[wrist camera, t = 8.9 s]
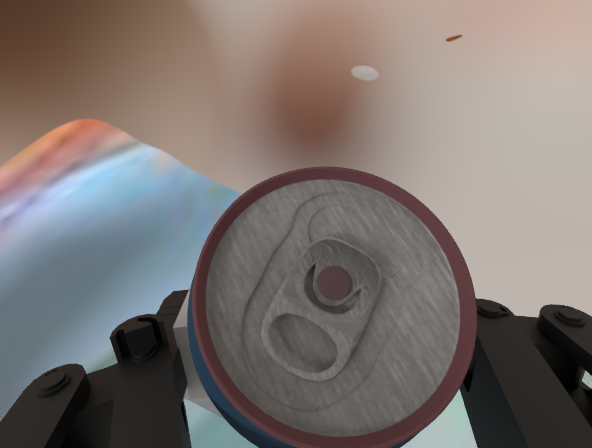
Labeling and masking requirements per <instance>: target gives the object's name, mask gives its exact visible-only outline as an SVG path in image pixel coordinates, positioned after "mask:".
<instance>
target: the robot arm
mask: <svg viewBox="0 0 592 448" xmlns="http://www.w3.org/2000/svg"><path fill="white" fill-rule="evenodd" d="M191 285H192V284H191ZM190 289H191V287H190ZM190 289H189V290H181V291H173V292H172V293H171V294H170V295H169V296H168V297H166V298H165V299H164V301H163V303H162V304H161V306H160V310H158V312H157V314H156V315H155V314H145V315H140V316H136V317H134V318H131V319H129V320H127V321H125V322H123V323H122V324H120V325H119V326H118V327H117V328H116V329H115V330H114V331H113V332H112V334H111V336H110V340H111V343H112V346H113V349H114V352H115V355H116V358H117V361H118V363H117V364H115V365H112V366H110V367H107V368H104V369H101V370H98V371H95V372H92V373H89V374H86V372H85V370H84V368H83V366H81V365H79V364H66V365H63V366H60V367H56V368H54V369H52V370H50V371H48V372H46V373H44V374H42V375H41V376H40V377H38V378H37V379H35V380H34V381H33V382H32V383H31V384H30V385H29V386H28V387H27V388H26V389H25V390H24V391H23V393H22V394H21V395H20V397H19V398H18V399H17V401H16V402H15V403H14V405H13V406H12V407H11V409H10V410H9V411H8V413H7V414H6V415H5V417H4V418H3V419H2V421H1V422H0V448H191V442H190V435H189V428H188V422H187V415H186V409H185V405H184V401H183V399H184V395H185V392H186V388H187V389H188V393H189V397H190V399H196V398H203V397H209V396H208V395H207V393H206V391H205V389H204V387H203V385H202V383H201V381H200V379H199V376H198V374H197V371H196V369H195V365H194V362H193V359H192V355H191V351H190V346H189V339H188V329H187V310H188V300H189V294H190ZM476 307H477V333H476V341H475V347H474V351H473V356H472V359H471V362H470V365H469V369H468V371H467V373H466V376H465V378H464V380H463V382H462V384H461V386H460V392H461V395H462V398H463V401H464V405H465V408H466V411H467V414H468V418H469V421H470V424H471V427H472V431H473V434H474V437H475V440H476V444H477V447H478V448H592V389H591V388H589V387H588V386H587V385H586V384H584V383H583V382H582V378H583V375H584V373H585V370H586V371H587V372H588V373H589V374H590V375H591V376H592V317H591V316H590V315H588V314H586V313H584V312H582V311H580V310H577V309H575V308H572V307H569V306H564V305H552V304H551V305H545V306H543V307H542V308H541V310H540V313H539V317H538V318H536V317H525V316H515V315H514V314H513V313H512V312H511V311H510V310H509V309H508V308H507V307H505V306H503V305H501V304H499V303H497V302H494V301H491V300H485V299H476Z"/></svg>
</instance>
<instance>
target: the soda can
mask: <svg viewBox="0 0 592 448" xmlns="http://www.w3.org/2000/svg"><path fill="white" fill-rule="evenodd" d="M187 329H188V339H189V346H190V351H191V355H192V359H193V362H194V365H195V369H196V371H197V374H198V376H199V379H200V381H201V383H202V385H203V387H204V389H205V391H206V393H207V395H208V396H209V398H210V400H211V401H212V403H213V404H214V406H215V407H216V408H217V410H218V411H219V412H220V414H221V415H222V416H223V417H224V418H225V420H226V421H227V422H228V423H229V424H230V425H231V426H232V427H233V428H234V429H235V430H236V431H237V432H238V433H239V434H241V435H242V436H243V437H245V438H246V439H247V440H248V441H250V442H251V443H253V444H254V445H256V446H257V447H259V448H400V447H402V446H403V445H404V444H406V443H407V442H409V441H410V440H411V439H412V438H414V437H415V436H416V435H417V434H418V433H419V432H420V431H421V430H423V429H424V428H425V427H427V426H428V425H429V424H430V423H431V422H433V421H434V420H435V419H436V418H437V417H438V416H439V415H440V414H441V413H442V412H443V411H444V409H445V408H446V407H447V406H448V404H449V403H450V402H451V401H452V399H453V398H454V396H455V395H456V393H457V392H458V390H459V388H460V386H461V384H462V382H463V380H464V378H465V376H466V373H467V371H468V369H469V365H470V362H471V359H472V356H473V351H474V347H475V341H476V333H477V307H476V298H475V293H474V288H473V284H472V280H471V276H470V273H469V270H468V267H467V265H466V263H465V260H464V258H463V256H462V254H461V252H460V249H459V248H458V246H457V244H456V242H455V241H454V239H453V238H452V236H451V235H450V233H449V232H448V230H447V229H446V228H445V226H444V225H443V224H442V222H441V221H440V220H439V219H438V218H437V217H436V216H435V215H434V214H433V213H432V212H431V211H430V210H429V209H428V208H427V207H426V206H425V205H424V204H423V203H422V202H420V201H419V200H418V199H416V198H415V197H414V196H413V195H411V194H410V193H408V192H407V191H405V190H404V189H402V188H400V187H398V186H397V185H395V184H393V183H391V182H389V181H387V180H385V179H382V178H380V177H378V176H375V175H372V174H369V173H366V172H362V171H358V170H353V169H347V168H340V167H312V168H304V169H298V170H294V171H289V172H286V173H283V174H280V175H277V176H274V177H272V178H269V179H268V180H265V181H263V182H261V183H259V184H257V185H256V186H254V187H252V188H251V189H249V190H248V191H247V192H245V193H244V194H243V195H241V196H240V197H239V198H238V199H237V200H236V201H235V202H233V203H232V205H231V206H230V207H229V208H228V209H227V210H226V211H225V212H224V214H223V215H222V216H221V217H220V219H219V220H218V221H217V223H216V224H215V226H214V227H213V229H212V231H211V232H210V234H209V236H208V238H207V240H206V242H205V244H204V246H203V249H202V251H201V254H200V257H199V260H198V263H197V267H196V271H195V274H194V278H193V281H192V285H191V289H190V294H189V300H188V310H187Z"/></svg>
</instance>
